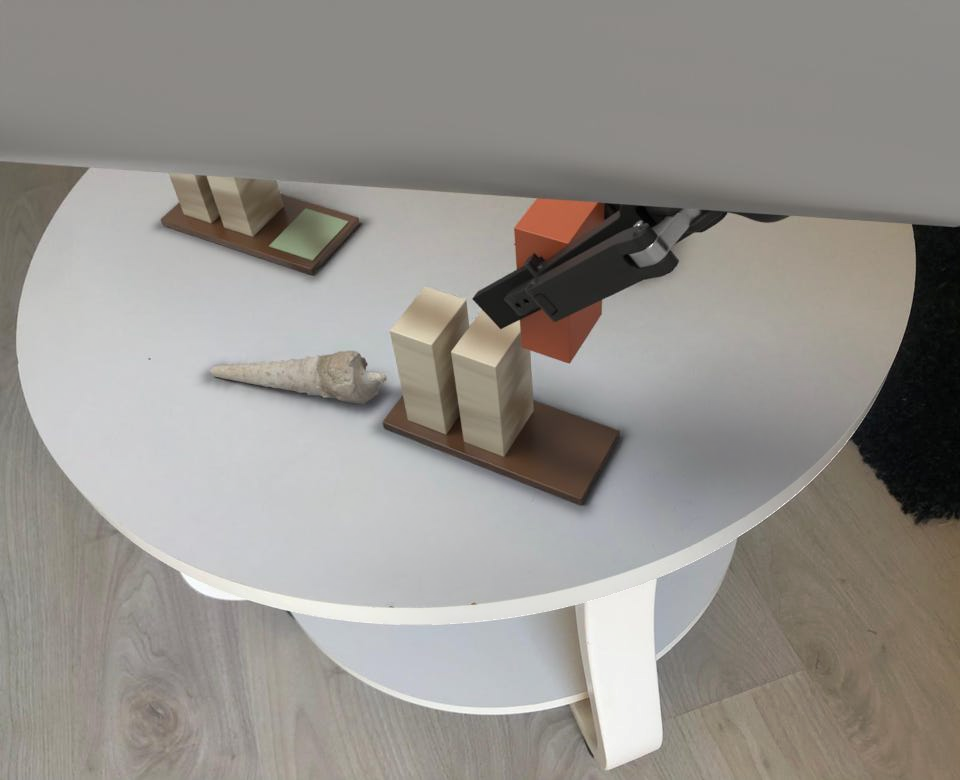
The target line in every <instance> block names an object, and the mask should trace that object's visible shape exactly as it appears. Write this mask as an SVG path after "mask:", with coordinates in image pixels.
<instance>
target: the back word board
mask: <svg viewBox="0 0 960 780" xmlns="http://www.w3.org/2000/svg"><path fill="white" fill-rule="evenodd" d="M167 174H168V177H169V179H170V182H171V184H172V187H173V189H174V192H175V194H176V197H177V200H178V203H177V204H176V205H174V207H172V208H171V209H170V210H169V211H168V212H166V214H165V215H163V216H162V217H161V218H160V222H161V225H162V227H163V226H164V227H166V228H169V229H173V230H175V231H178V232H181V233H184V234H187V235H191V236H193V237H196V238H199V239H202V240H205V241H209V242H210V243H214V244H217V245H220V246H223V247H226V248H229V249H232V250H235V251H238V252H241V253H244V254H247V255H250V256H253V257H256V258H259V259H262V260H265V261H268V262H271V263H274V264H277V265H280V266H283V267H286V268H289V269H291V270H295V271H298V272H301V273H304V274H306V275H309V276H315V274H316V273H317V272H318V271H319V269H321V267H322V266H323V265H324V264H325V263H326V262H327V260H328V259H330V257H331V256H332V255H333V254H334V253H335V252H336V251H337V249H339V247H340V246H342V245H343V243H344V242H345V241H346V240H347V239H348V238H349V237H350V236H351V234H352V233H354V231H355V230H356V229H357V228H358V227H359V225H360V224H361V222H360V218H359V217H358V216H355V215H351V214H348V213H344V212H341V211H338V210H336V209H331V208H328V207H326V206H323V205H319V204H315V203H312V202H309V201H305V200H302V199H298V198H295V197H292V196H289V195H285V194H282V193H281V191H280V188H279V185H278V180H263V179H249V178H234V177H220V176H205V175H191V174H176V173H167Z"/></svg>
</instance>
